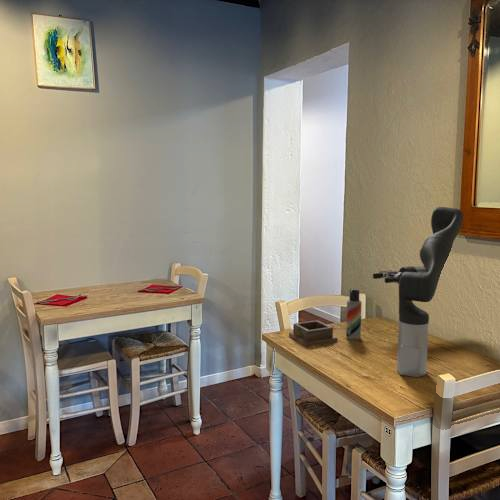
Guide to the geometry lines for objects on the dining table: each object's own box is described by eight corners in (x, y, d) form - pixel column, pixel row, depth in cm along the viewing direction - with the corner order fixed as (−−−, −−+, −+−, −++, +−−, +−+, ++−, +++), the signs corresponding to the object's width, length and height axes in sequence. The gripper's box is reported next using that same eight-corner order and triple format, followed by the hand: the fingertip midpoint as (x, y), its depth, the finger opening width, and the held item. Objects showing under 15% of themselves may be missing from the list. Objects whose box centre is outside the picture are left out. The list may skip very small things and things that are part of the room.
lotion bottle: (343, 337, 196) (344, 289, 193) (350, 334, 200) (352, 286, 197) (355, 340, 192) (357, 291, 189) (363, 337, 196) (364, 289, 193)
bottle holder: (337, 341, 191) (337, 328, 190) (306, 346, 185) (306, 332, 184) (318, 331, 203) (318, 319, 203) (289, 336, 198) (289, 323, 197)
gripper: (402, 263, 207) (369, 266, 202) (424, 269, 194) (389, 272, 189) (402, 280, 208) (369, 283, 203) (423, 287, 195) (388, 291, 190)
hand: (379, 278), depth 196 cm, fingers open, 8 cm apart
